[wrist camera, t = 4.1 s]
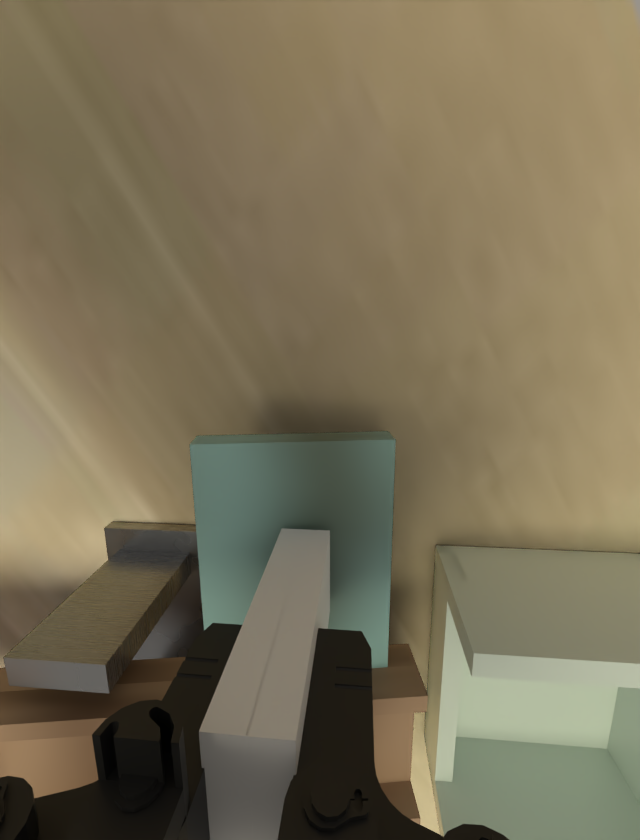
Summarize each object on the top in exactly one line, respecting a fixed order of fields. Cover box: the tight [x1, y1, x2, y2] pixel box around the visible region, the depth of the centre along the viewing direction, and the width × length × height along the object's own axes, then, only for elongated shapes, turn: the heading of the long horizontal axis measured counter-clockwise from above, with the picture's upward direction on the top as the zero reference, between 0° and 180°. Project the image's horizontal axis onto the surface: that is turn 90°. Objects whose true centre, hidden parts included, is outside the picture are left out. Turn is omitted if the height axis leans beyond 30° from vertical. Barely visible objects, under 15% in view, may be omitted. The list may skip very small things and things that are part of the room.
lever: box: [0, 431, 428, 825], centre depth 13 cm, size 22×14×5 cm, turn 90°
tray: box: [424, 545, 640, 840], centre depth 15 cm, size 10×9×6 cm
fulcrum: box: [4, 522, 204, 693], centre depth 17 cm, size 11×4×7 cm, turn 0°
